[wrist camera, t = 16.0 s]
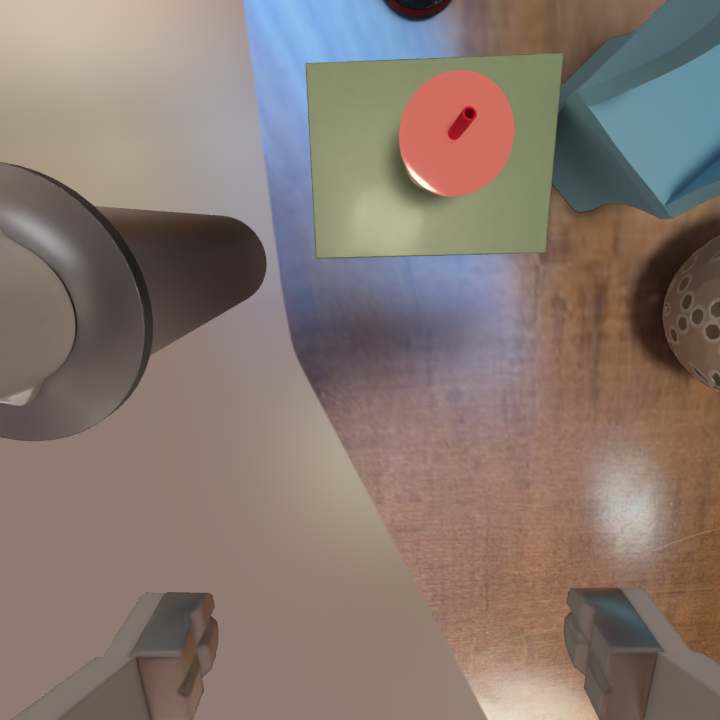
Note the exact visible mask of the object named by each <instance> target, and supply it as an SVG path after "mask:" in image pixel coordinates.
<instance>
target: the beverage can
mask: <svg viewBox="0 0 720 720" xmlns="http://www.w3.org/2000/svg"><path fill="white" fill-rule="evenodd" d="M387 1H388V3H389V4H390V5H391V6H392V7H393V8H394V9H396V10H397V11H399V12H400V13H402V14H405V15H408V16H412V17H424V16H428V15H431V14H433V13H436V12H437V11H439V10H440V9H442V8H443V7H444V6H445V5H446V4H447V3H448V2H449V1H450V0H387Z"/></svg>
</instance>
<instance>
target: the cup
mask: <svg viewBox="0 0 720 720" xmlns="http://www.w3.org/2000/svg"><path fill="white" fill-rule="evenodd" d="M513 140H514V118H513V113H512V110H511V107H510V104H509V102H508V100H507V98H506V96H505V95H504V93H503V92H502V90H501V89H500V88H499V87H498V86H497V85H496V84H495V83H494V82H493V81H492V80H490V79H489V78H487V77H485V76H483V75H481V74H479V73H476V72H473V71H467V70H454V71H448V72H445V73H442V74H439V75H437V76H435V77H433V78H431V79H430V80H428V81H427V82H425V83H424V84H423V85H422V86H421V87H420V88H419V89H418V90H417V91H416V92H415V93H414V95H413V96H412V97H411V99H410V100H409V102H408V104H407V106H406V108H405V110H404V113H403V116H402V119H401V123H400V129H399V146H400V152H401V156H402V159H403V162H404V164H405V167H406V171H407V174H408V176H409V178H410V179H411V181H412V182H413V183H414V184H415V185H417V186H418V187H420V188H422V189H425V190H428V191H430V192H432V193H435V194H438V195H442V196H448V197H458V196H464V195H468V194H471V193H474V192H476V191H478V190H480V189H482V188H483V187H485V186H486V185H488V184H489V183H490V182H491V181H492V180H493V179H494V178H495V177H496V176H497V175H498V174H499V173H500V171H501V170H502V168H503V167H504V165H505V164H506V162H507V160H508V157H509V155H510V152H511V149H512V145H513Z"/></svg>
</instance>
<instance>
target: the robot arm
mask: <svg viewBox="0 0 720 720" xmlns="http://www.w3.org/2000/svg"><path fill="white" fill-rule="evenodd" d="M75 330H76V324H75V315H74V310H73V306H72V303H71V300H70V297H69V295H68V293H67V291H66V289H65V287H64V285H63V283H62V282H61V280H60V279H59V277H58V276H57V275H56V273H55V272H54V271H53V270H52V269H51V267H50V266H49V265H48V264H47V263H46V262H45V261H44V260H42V259H41V258H40V257H39V256H38V255H36V254H35V253H34V252H32V251H31V250H29V249H27V248H26V247H24V246H22V245H20V244H19V243H17V242H15V241H14V240H12V239H11V238H9V237H8V236H7V235H6V234H5V233H4V232H3V230H2V229H1V228H0V403H5V404H11V405H17V406H21V405H25V404H28V403H30V402H32V401H33V400H34V399H35V398H36V396H37V395H38V393H39V390H40V388H41V386H42V383H43V381H44V380H45V379H46V378H47V377H48V376H50V375H51V374H52V373H54V372H55V371H56V370H57V369H58V368H60V367H61V365H62V364H63V363H64V362H65V361H66V359H67V357H68V356H69V354H70V352H71V349H72V347H73V343H74V339H75ZM567 604H568V606H569V608H570V610H571V612H570V613H569V614H568V615H567V616H566V617H565V620H564V636H565V643H566V647H567V650H568V653H569V656H570V658H571V661H572V663H573V665H574V667H575V668H576V669H578V670H579V671H580V672H581V673H582V674H584V675H585V676H586V677H585V684H584V689H585V691H586V693H587V695H588V697H589V699H590V701H591V703H592V705H593V707H594V710H595V712H596V714H597V716H598V718H599V720H720V664H718V663H716V662H715V661H713V660H712V659H710V658H709V657H707V656H705V655H704V654H702V653H701V652H692V650H691V649H690V648H689V647H688V645H687V644H686V643H685V641H684V640H683V639H682V638H681V636H680V635H679V634H678V632H677V631H676V630H675V628H674V627H673V626H672V625H671V623H670V622H669V621H668V619H667V618H666V617H665V616H664V614H663V613H662V612H661V610H660V609H659V608H658V606H657V605H656V604H655V603H654V601H653V600H652V599H651V597H650V596H649V595H648V594H647V592H646V591H645V590H644V589H642V588H641V587H616V588H614V587H607V588H571V589H570V591H569V592H568V596H567ZM214 607H215V606H214V600H213V595H212V594H210V593H175V592H174V593H173V592H170V593H169V592H168V593H145V594H144V595H142V596H141V597H140V598H139V600H138V601H137V603H136V605H135V606H134V608H133V609H132V611H131V613H130V614H129V616H128V617H127V619H126V620H125V622H124V624H123V626H122V627H121V629H120V630H119V632H118V634H117V635H116V637H115V638H114V640H113V642H112V643H111V645H110V646H109V648H108V650H107V651H106V653H105V654H104V656H103V657H96V658H94V659H93V660H91V661H90V662H89V663H87V664H86V665H85V666H83V667H82V668H80V669H79V670H78V671H76V672H75V673H74V674H72V675H71V676H70V677H68V678H67V679H66V680H64V681H63V682H62V683H60V684H59V685H58V686H56V687H55V688H53V689H52V690H51V691H49V692H48V693H46V694H45V695H44V696H42V697H41V698H40V699H38V700H37V701H36V702H34V703H33V704H32V705H30V706H29V707H27V708H26V709H25V710H24V711H22V712H21V713H19V714H18V715H17V716H15V717H14V718H12V719H11V720H193V719H194V716H195V713H196V711H197V707H198V705H199V702H200V699H201V697H202V694H203V691H204V688H203V681H202V678H203V677H204V676H205V675H206V674H207V673H208V672H209V671H210V670H211V668H212V666H213V663H214V660H215V657H216V651H217V646H218V625H217V621H216V620H215V619H214V618H213V617H212V616H211V614H212V611H213V609H214Z"/></svg>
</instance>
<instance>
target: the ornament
mask: <svg viewBox="0 0 720 720" xmlns="http://www.w3.org/2000/svg"><path fill="white" fill-rule="evenodd" d="M666 304H667V305H668V306H665V305H666ZM663 326H664V331H665V335H666V339H667V341H668V344H669V346H670V348H671V350H672V351H673V353H674V354H675V356H676V357H677V358H678V360H679V361H680V363H681V364H682V365H683V366H684V367H685V368H686V369H687V370H688V371H689V372H690V373H691V374H692V375H693V376H694V377H695V378H697V379H698V380H700V381H701V382H702V383H704V384H705V385H707V386H708V387H710V388H711V389H713V390H715V391H717V392H719V393H720V391H718V390H717V389H716V388H719V389H720V235H718V236H717V237H715V238H713V239H711V240H710V241H709V242H707V243H706V244H705V245H703V246H702V247H701V248H699V249H698V250H697V251H695V252H694V253H693V254H692V255H691V256H690V257H689V258H688V259H687V260H686V261H685V262H684V263H683V264H682V266H681V267H680V269H679V270H678V271H677V273H676V274H675V276H674V277H673V279H672V281H671V283H670V285H669V287H668V290H667V293H666V296H665V300H664V306H663ZM713 374H714V375H713ZM712 376H713V377H712Z"/></svg>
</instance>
